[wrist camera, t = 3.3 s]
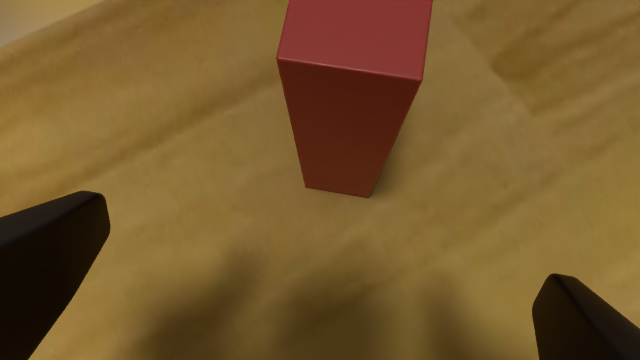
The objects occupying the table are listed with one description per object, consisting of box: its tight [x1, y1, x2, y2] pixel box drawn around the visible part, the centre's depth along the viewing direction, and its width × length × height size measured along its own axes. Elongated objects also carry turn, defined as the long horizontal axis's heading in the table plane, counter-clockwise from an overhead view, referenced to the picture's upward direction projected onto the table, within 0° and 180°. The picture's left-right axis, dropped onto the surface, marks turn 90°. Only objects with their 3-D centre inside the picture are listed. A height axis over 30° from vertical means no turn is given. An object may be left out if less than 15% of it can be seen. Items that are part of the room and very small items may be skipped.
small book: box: [276, 0, 433, 198], centre depth 17 cm, size 8×4×13 cm, turn 170°
